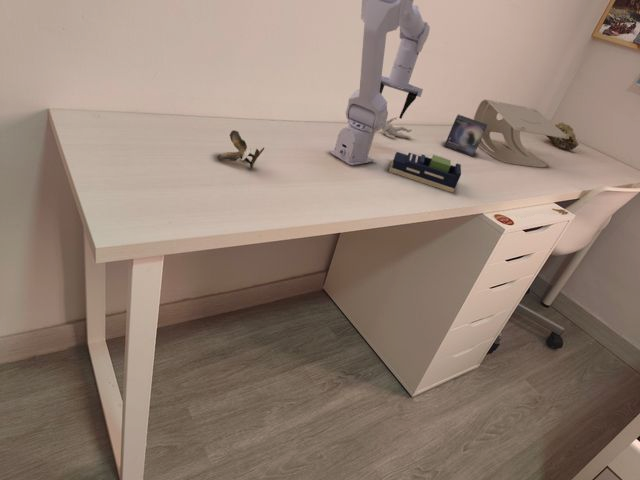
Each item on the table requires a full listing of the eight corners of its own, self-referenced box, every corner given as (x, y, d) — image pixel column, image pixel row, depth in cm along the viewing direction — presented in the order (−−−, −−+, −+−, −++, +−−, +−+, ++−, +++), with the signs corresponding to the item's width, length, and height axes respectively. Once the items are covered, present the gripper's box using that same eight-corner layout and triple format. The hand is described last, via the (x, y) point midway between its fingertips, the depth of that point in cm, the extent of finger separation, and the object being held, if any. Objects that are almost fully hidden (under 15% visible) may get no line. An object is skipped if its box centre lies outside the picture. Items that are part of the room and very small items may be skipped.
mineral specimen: (577, 150, 201) (589, 129, 196) (571, 154, 191) (584, 132, 186) (546, 138, 207) (557, 117, 202) (538, 141, 198) (550, 119, 193)
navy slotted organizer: (452, 182, 127) (460, 164, 124) (452, 192, 120) (461, 174, 117) (392, 161, 129) (398, 144, 126) (388, 171, 121) (395, 152, 119)
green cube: (443, 182, 121) (450, 166, 118) (425, 177, 121) (432, 160, 119) (443, 176, 125) (450, 160, 123) (426, 170, 126) (433, 154, 123)
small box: (443, 146, 154) (455, 117, 149) (445, 142, 160) (457, 113, 154) (473, 157, 152) (486, 128, 147) (474, 152, 158) (487, 124, 152)
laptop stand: (513, 143, 182) (531, 106, 174) (554, 169, 164) (576, 129, 156) (462, 136, 173) (479, 96, 165) (500, 163, 154) (521, 119, 146)
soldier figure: (409, 145, 150) (383, 129, 144) (399, 149, 154) (373, 134, 148) (412, 124, 152) (386, 108, 146) (402, 129, 156) (376, 114, 150)
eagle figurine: (263, 157, 106) (231, 138, 106) (265, 140, 99) (231, 120, 100) (246, 181, 103) (212, 161, 103) (247, 164, 96) (211, 143, 96)
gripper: (429, 71, 127) (412, 118, 134) (380, 56, 129) (366, 103, 136) (428, 75, 121) (410, 123, 128) (377, 59, 123) (362, 108, 130)
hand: (388, 113), depth 132 cm, fingers open, 7 cm apart
